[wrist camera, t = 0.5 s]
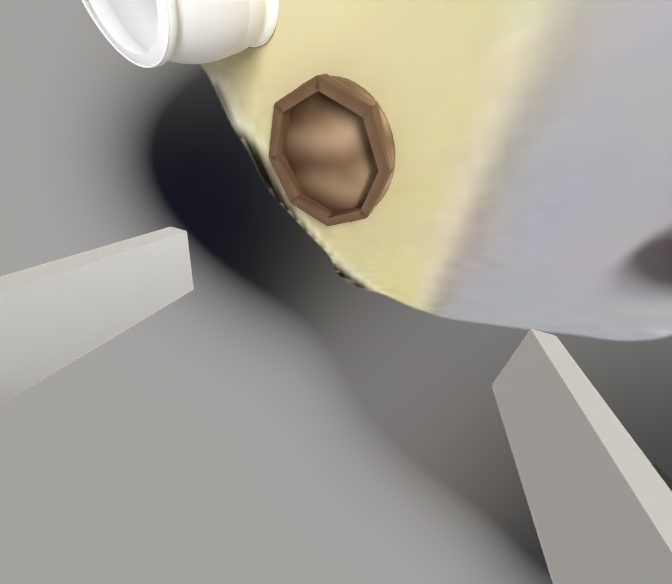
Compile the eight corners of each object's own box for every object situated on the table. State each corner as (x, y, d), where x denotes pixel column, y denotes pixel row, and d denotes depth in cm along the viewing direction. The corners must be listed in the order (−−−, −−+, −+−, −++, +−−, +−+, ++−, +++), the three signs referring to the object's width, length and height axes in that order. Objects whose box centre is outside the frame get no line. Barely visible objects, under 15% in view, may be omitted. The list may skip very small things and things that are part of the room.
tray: (260, 113, 37) (247, 117, 35) (369, 41, 26) (357, 42, 25) (312, 225, 45) (303, 233, 43) (410, 204, 35) (403, 213, 33)
